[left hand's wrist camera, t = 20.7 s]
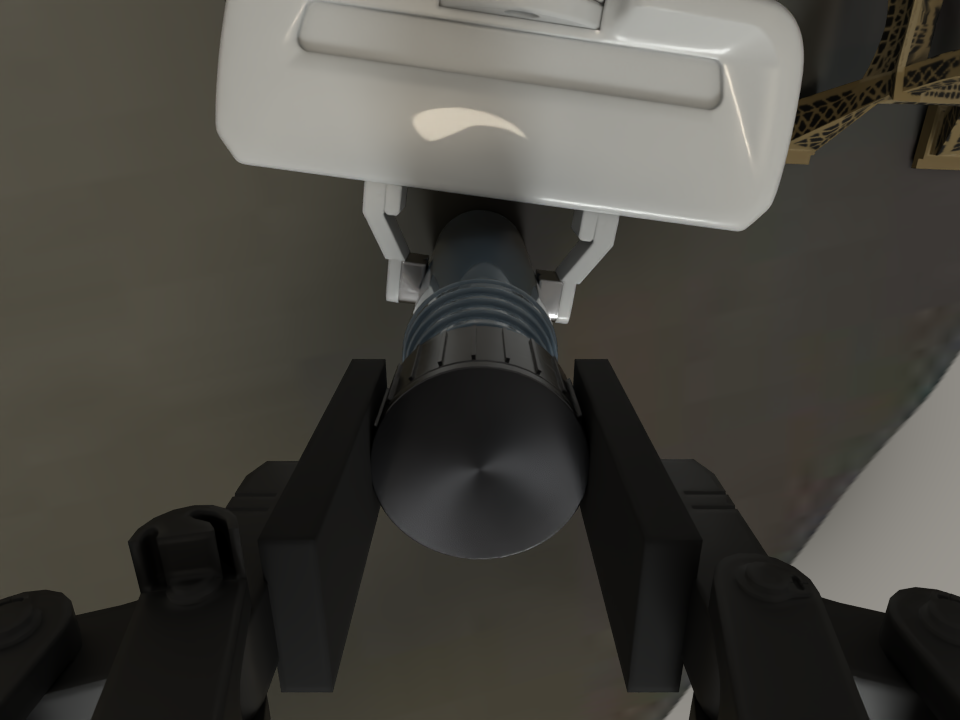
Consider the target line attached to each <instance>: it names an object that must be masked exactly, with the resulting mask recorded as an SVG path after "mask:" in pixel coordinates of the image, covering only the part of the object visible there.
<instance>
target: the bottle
mask: <svg viewBox="0 0 960 720" xmlns="http://www.w3.org/2000/svg"><path fill="white" fill-rule="evenodd" d="M472 325H476V326H491V327H499V328H503V327H505V328H507V330H511V331H514V332H516V333H519V334H521V335H524V336H526V337H527V338H529V339H530V338H533V339H534V341H535V342H536V343H537V344H539V345H540V346H542V347H543V348H544V349H545V350H546V351H547V352H548V353H549V354H550V355H552V356H555V357H556V358H557V362H558V346H557V339H556V334H555V331H554V328H553V325H552V322H551V319H550V316H549V313H548V310H547V307H546V305H545V302H544V299H543V296H542V293H541V290H540V287H539V285H538V282H537V279H536V276H535V273H534V270H533V267H532V264H531V262H530V259H529V256H528V253H527V250H526V247H525V244H524V241H523V239H522V237H521V234H520V233H519V231H518V229H517V228H516V227H515V226H514V225H513V224H512V223H511V222H510V221H509V220H508V219H507V218H505V217H503V216H502V215H500V214H497V213H495V212H491V211H486V210H474V211H469V212H466V213H463V214H461V215H458V216H457V217H455V218H454V219H452V220H451V221H450V222H449V223H448V224H447V225H446V226H445V227H444V229H443V230H442V231H441V233H440V235H439V237H438V240H437V242H436V245H435V248H434V251H433V254H432V257H431V260H430V263H429V265H428V268H427V271H426V274H425V277H424V280H423V283H422V285H421V288H420V291H419V294H418V297H417V300H416V303H415V306H414V308H413V311H412V314H411V317H410V320H409V323H408V326H407V329H406V331H405V335H404V340H403V351H402V363H403V362H404V360H405V359H406V358H407V357H408V356H409V355H410V354H411V353H412V352H413V351H414V350H415V349H416V347H417V345H418V344H420V345H421V344H423V343H424V342H426V341H427V340H429V339H431V338H433V337H434V336H437V335H439V334H441V333H443V331H445V330H446V331H450V330H453V329H457V328H462V327H469V326H472Z"/></svg>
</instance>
